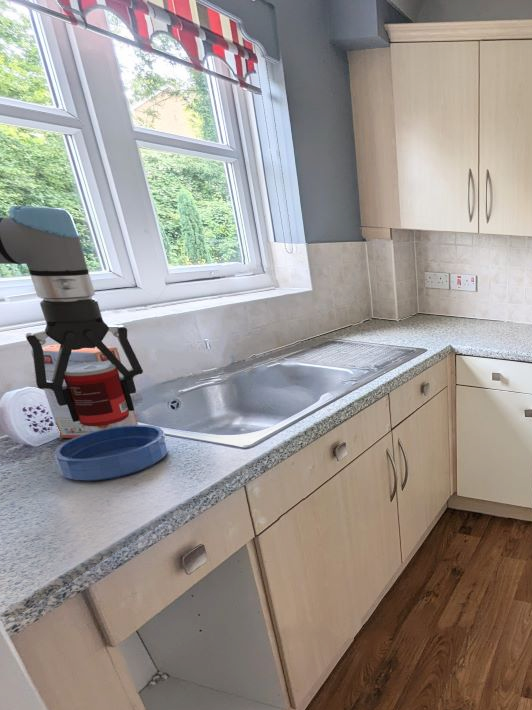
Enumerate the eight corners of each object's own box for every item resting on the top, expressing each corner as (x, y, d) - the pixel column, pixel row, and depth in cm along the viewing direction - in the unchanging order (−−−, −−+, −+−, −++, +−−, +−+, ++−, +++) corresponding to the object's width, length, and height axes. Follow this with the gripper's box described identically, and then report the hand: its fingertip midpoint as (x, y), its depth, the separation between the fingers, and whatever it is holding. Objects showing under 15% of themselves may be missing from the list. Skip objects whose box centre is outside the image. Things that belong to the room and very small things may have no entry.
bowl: (54, 492, 83) (46, 468, 81) (69, 456, 96) (62, 435, 94) (168, 469, 93) (162, 447, 91) (168, 439, 105) (163, 419, 103)
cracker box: (142, 431, 108) (118, 346, 101) (119, 442, 102) (93, 352, 95) (84, 427, 108) (56, 342, 101) (59, 438, 103) (27, 349, 95)
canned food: (120, 409, 96) (106, 358, 92) (137, 417, 92) (123, 366, 88) (72, 420, 89) (54, 367, 86) (88, 430, 86) (70, 375, 82)
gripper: (-18, 305, 73) (30, 434, 81) (144, 297, 87) (171, 406, 95) (-18, 299, 77) (28, 422, 85) (136, 292, 92) (162, 397, 100)
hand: (103, 413), depth 90 cm, fingers closed on canned food, 8 cm apart
